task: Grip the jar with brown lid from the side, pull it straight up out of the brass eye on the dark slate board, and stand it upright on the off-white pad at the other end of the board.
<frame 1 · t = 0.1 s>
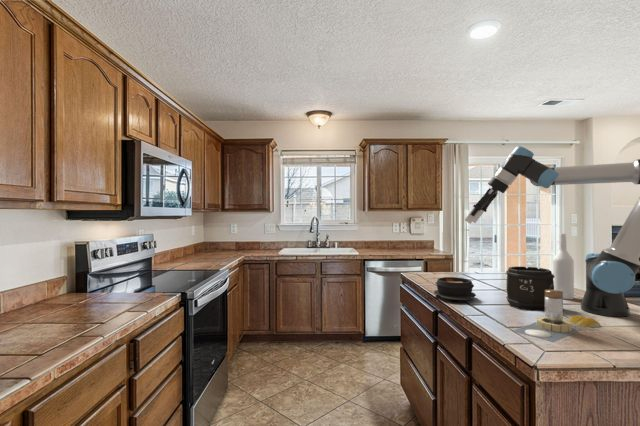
hand: (469, 221, 153), 36 cm above the worktop, tool tilted 35°, fingers open, 13 cm apart
labelled black crock: (529, 306, 149), on the worktop
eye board: (546, 334, 112), on the worktop
casserole: (454, 298, 164), on the worktop
bread roll: (584, 329, 119), on the worktop
bottle: (563, 297, 163), on the worktop
jar with brown lid: (553, 327, 115), point 1 cm above the worktop, touching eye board
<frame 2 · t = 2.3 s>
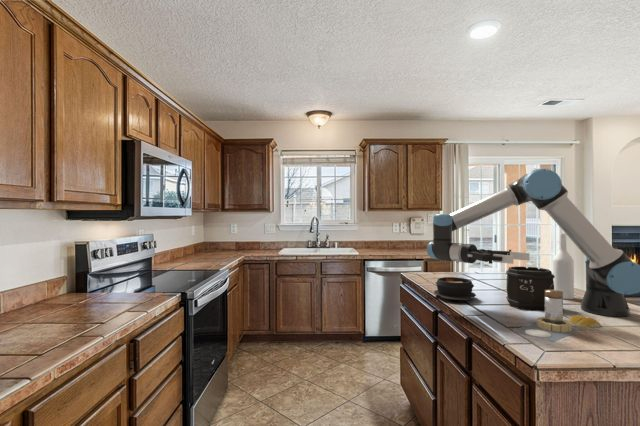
hand: (521, 258, 123), 23 cm above the worktop, tool horizontal, fingers open, 13 cm apart
nothing on the worktop moved.
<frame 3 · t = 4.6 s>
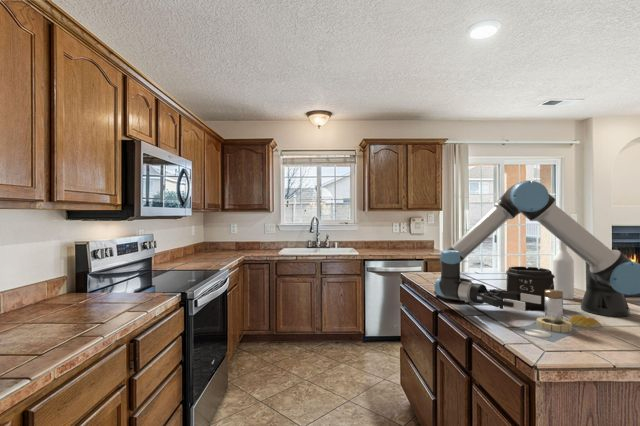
hand: (533, 303, 120), 8 cm above the worktop, tool horizontal, fingers open, 13 cm apart
nothing on the worktop moved.
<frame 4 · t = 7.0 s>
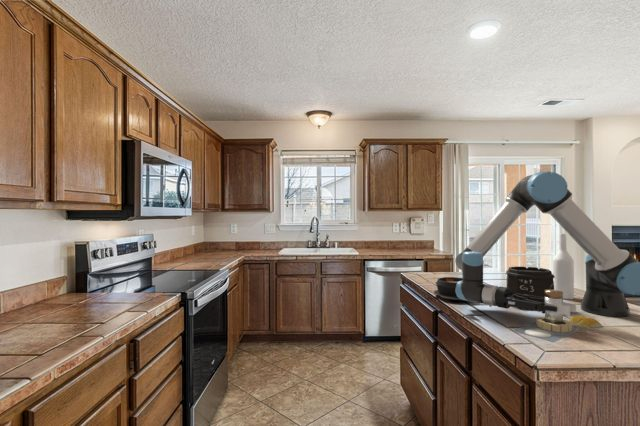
hand: (572, 309, 111), 8 cm above the worktop, tool horizontal, fingers closed on jar with brown lid, 5 cm apart
jar with brown lid: (553, 327, 115), point 1 cm above the worktop, touching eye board, gripper
everything else where it was.
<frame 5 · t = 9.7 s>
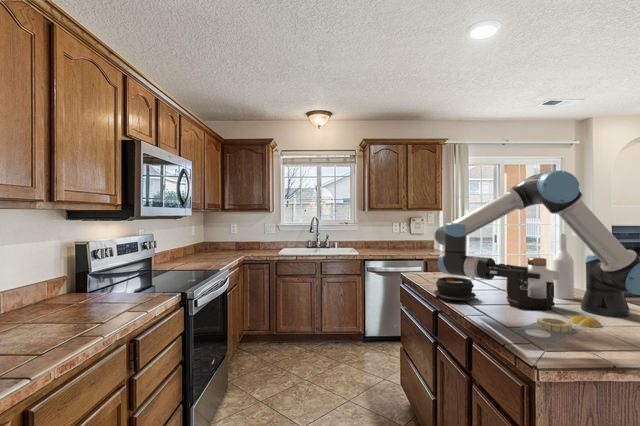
hand: (556, 276, 105), 20 cm above the worktop, tool horizontal, fingers closed on jar with brown lid, 5 cm apart
jar with brown lid: (537, 296, 109), point 13 cm above the worktop, touching gripper
everything else where it was.
when the fingers open (10 cm above the worktop, at t = 12.4 s): jar with brown lid stays where it is, resting on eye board.
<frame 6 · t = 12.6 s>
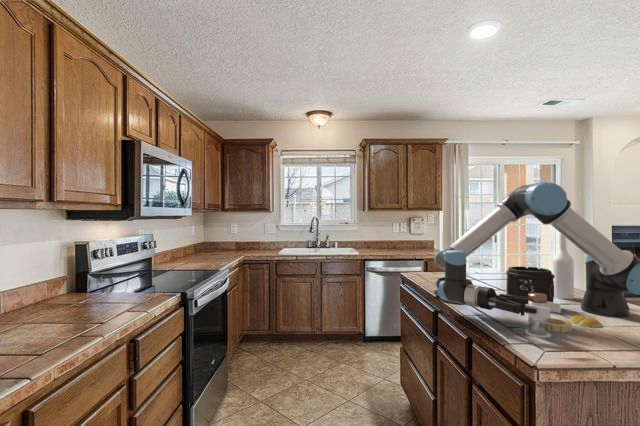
hand: (555, 310, 105), 10 cm above the worktop, tool horizontal, fingers open, 8 cm apart
jar with brown lid: (537, 332, 109), point 2 cm above the worktop, touching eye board
everything else where it was.
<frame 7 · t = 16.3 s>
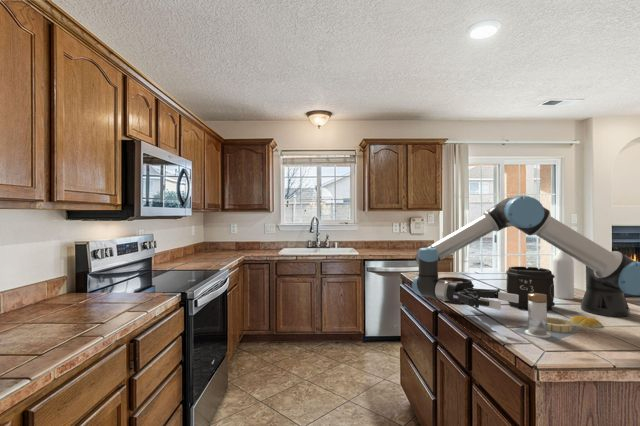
hand: (509, 302, 116), 10 cm above the worktop, tool horizontal, fingers open, 13 cm apart
nothing on the worktop moved.
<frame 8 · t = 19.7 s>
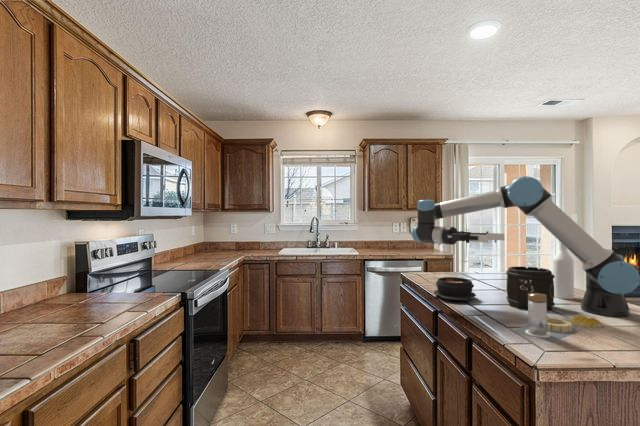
hand: (496, 237, 134), 30 cm above the worktop, tool horizontal, fingers open, 13 cm apart
nothing on the worktop moved.
at the end: jar with brown lid 0.1 cm from the target spot, point 1.7 cm above the worktop; jar with brown lid tilted 0°; the gripper is holding nothing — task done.
